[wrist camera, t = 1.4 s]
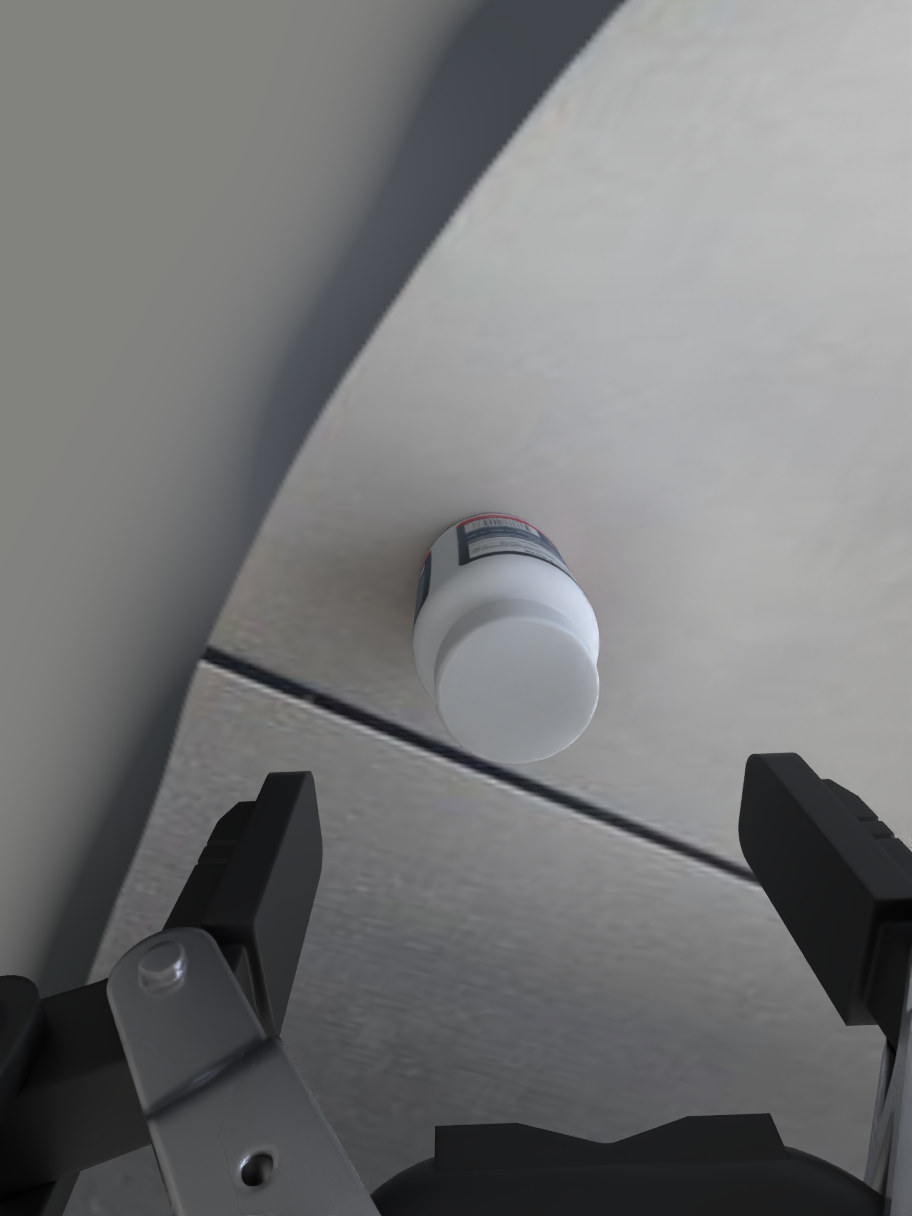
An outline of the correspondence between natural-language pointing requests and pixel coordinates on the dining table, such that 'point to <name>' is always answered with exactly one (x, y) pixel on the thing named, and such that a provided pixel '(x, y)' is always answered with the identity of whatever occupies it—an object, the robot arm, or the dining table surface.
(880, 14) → the dining table surface
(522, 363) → the dining table surface
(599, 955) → the dining table surface
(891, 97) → the dining table surface
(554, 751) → the pill bottle
